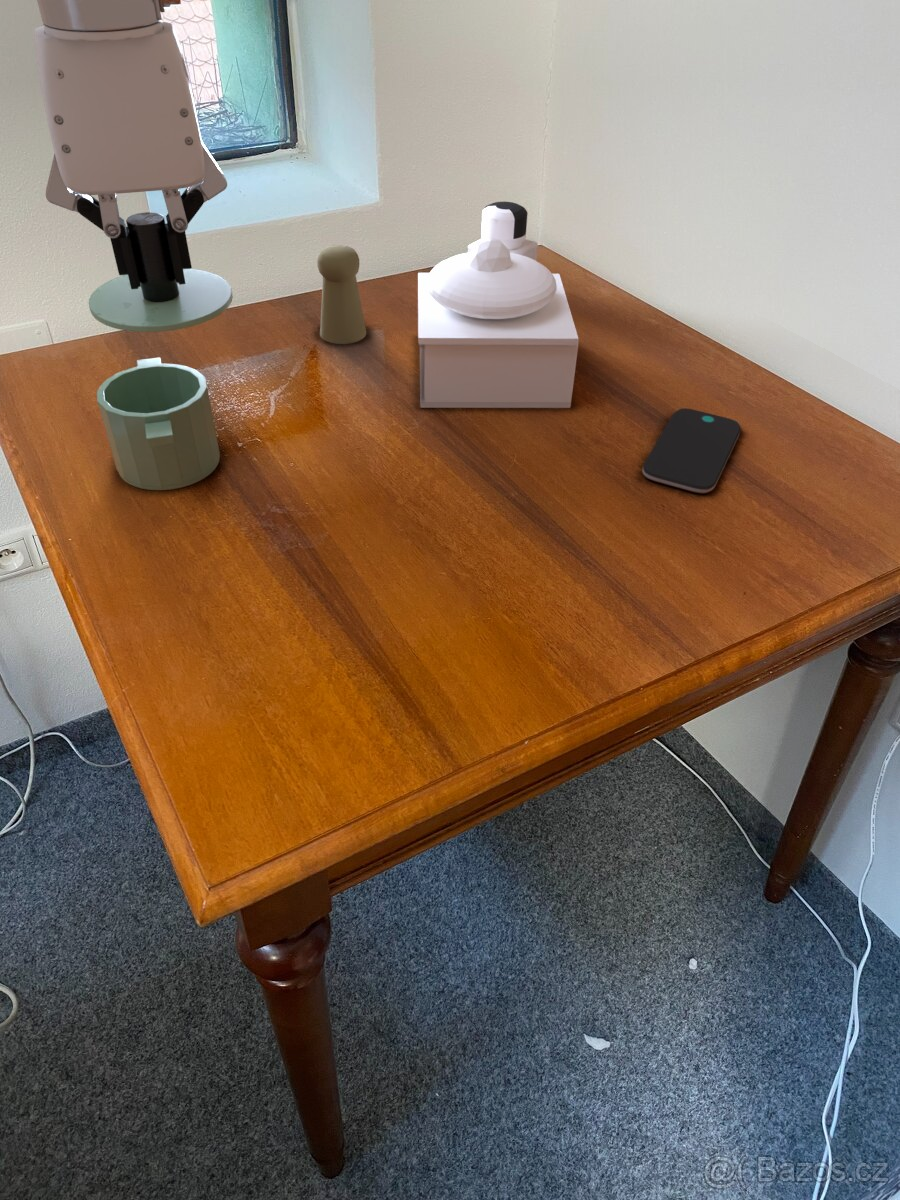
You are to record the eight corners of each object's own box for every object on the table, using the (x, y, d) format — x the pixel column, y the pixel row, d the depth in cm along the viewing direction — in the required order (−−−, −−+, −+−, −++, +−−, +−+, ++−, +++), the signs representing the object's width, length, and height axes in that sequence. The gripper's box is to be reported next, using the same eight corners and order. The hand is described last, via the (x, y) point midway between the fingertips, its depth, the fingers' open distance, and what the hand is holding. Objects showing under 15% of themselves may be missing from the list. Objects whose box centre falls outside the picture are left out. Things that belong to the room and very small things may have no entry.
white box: (553, 338, 114) (566, 212, 103) (570, 410, 101) (588, 274, 90) (418, 337, 114) (417, 211, 103) (418, 410, 100) (417, 273, 90)
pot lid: (92, 347, 66) (66, 253, 61) (91, 287, 74) (68, 200, 69) (241, 330, 69) (228, 238, 64) (225, 274, 77) (212, 189, 72)
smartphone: (744, 421, 98) (712, 491, 88) (742, 428, 98) (710, 498, 89) (677, 404, 100) (638, 470, 90) (676, 411, 101) (637, 477, 91)
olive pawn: (374, 328, 115) (371, 244, 108) (351, 347, 111) (346, 261, 104) (334, 319, 117) (328, 235, 110) (311, 337, 113) (302, 252, 106)
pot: (121, 513, 85) (98, 438, 79) (114, 430, 96) (94, 358, 90) (229, 495, 88) (215, 421, 82) (211, 416, 98) (197, 346, 93)
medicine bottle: (493, 279, 128) (497, 193, 120) (534, 292, 125) (542, 204, 117) (464, 295, 123) (467, 207, 115) (507, 309, 120) (513, 219, 112)
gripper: (219, -9, 62) (254, 252, 74) (-30, -2, 58) (50, 272, 71) (232, 11, 57) (267, 288, 69) (-41, 19, 53) (48, 311, 65)
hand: (157, 278), depth 70 cm, fingers closed on pot lid, 2 cm apart
